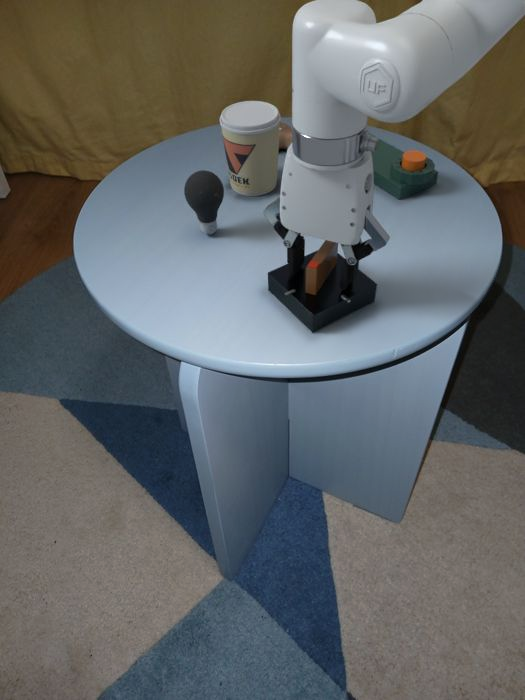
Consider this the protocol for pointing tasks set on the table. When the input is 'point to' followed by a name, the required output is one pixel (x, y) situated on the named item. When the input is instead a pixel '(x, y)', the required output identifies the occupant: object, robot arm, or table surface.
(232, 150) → the coffee cup
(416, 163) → the button
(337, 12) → the robot arm
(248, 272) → the table surface
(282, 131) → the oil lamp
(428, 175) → the button box
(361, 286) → the clamp block
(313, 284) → the wooden rectangular beam
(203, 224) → the light bulb
